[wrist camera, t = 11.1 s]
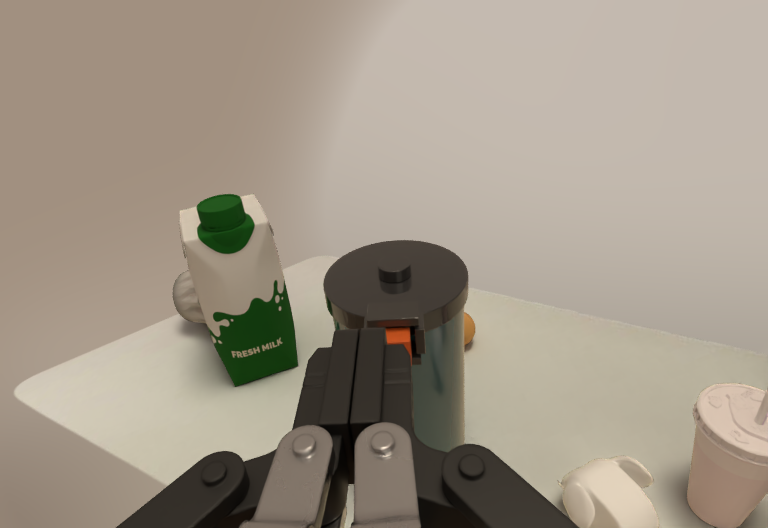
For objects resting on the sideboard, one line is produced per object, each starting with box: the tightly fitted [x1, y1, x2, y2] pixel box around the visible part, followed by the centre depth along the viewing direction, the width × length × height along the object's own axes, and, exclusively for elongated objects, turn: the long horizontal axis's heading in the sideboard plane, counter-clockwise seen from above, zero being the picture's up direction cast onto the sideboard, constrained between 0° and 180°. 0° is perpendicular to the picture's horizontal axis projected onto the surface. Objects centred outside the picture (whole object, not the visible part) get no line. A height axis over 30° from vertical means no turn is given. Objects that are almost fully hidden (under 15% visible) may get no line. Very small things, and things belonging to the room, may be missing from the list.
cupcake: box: [173, 270, 206, 323], centre depth 61 cm, size 9×9×10 cm
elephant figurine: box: [557, 456, 659, 528], centre depth 35 cm, size 7×8×6 cm
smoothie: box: [687, 383, 768, 528], centre depth 34 cm, size 6×6×14 cm
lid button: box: [385, 327, 412, 366], centre depth 31 cm, size 1×2×2 cm
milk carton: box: [179, 194, 298, 387], centre depth 52 cm, size 9×9×20 cm
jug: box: [323, 240, 468, 453], centre depth 41 cm, size 15×11×19 cm
